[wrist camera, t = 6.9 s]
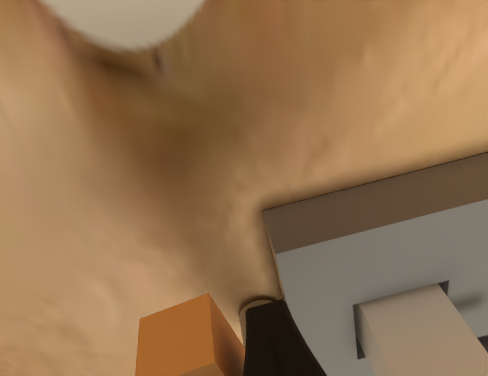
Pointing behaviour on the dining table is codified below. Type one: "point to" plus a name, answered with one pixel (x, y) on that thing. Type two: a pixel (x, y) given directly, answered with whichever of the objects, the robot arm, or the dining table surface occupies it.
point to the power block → (382, 253)
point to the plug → (418, 336)
